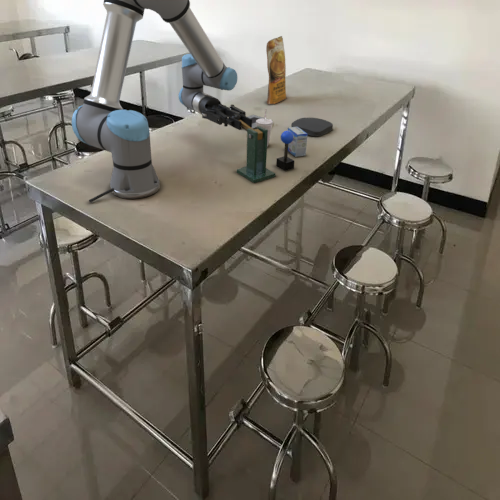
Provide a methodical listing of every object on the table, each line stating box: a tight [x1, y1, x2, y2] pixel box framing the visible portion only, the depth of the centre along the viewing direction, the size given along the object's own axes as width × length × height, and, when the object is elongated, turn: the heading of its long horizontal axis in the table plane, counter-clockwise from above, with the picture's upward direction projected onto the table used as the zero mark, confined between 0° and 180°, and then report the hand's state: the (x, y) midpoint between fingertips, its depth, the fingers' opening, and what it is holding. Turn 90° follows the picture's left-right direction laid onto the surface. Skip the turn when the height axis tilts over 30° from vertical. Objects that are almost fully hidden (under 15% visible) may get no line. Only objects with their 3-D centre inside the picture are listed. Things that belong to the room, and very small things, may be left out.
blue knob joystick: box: [275, 130, 295, 172], centre depth 166 cm, size 4×5×13 cm
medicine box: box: [287, 126, 309, 158], centre depth 179 cm, size 8×4×9 cm, turn 23°
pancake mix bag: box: [265, 35, 287, 105], centre depth 227 cm, size 7×19×28 cm, turn 149°
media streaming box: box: [290, 117, 334, 137], centre depth 201 cm, size 15×15×3 cm
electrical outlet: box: [247, 114, 268, 130], centre depth 203 cm, size 13×10×2 cm
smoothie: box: [256, 108, 274, 148], centre depth 182 cm, size 6×6×14 cm
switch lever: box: [231, 114, 263, 140], centre depth 160 cm, size 15×4×4 cm, turn 37°
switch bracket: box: [236, 126, 276, 184], centre depth 160 cm, size 10×9×16 cm
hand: (245, 124), depth 160 cm, fingers closed on switch lever, 4 cm apart
